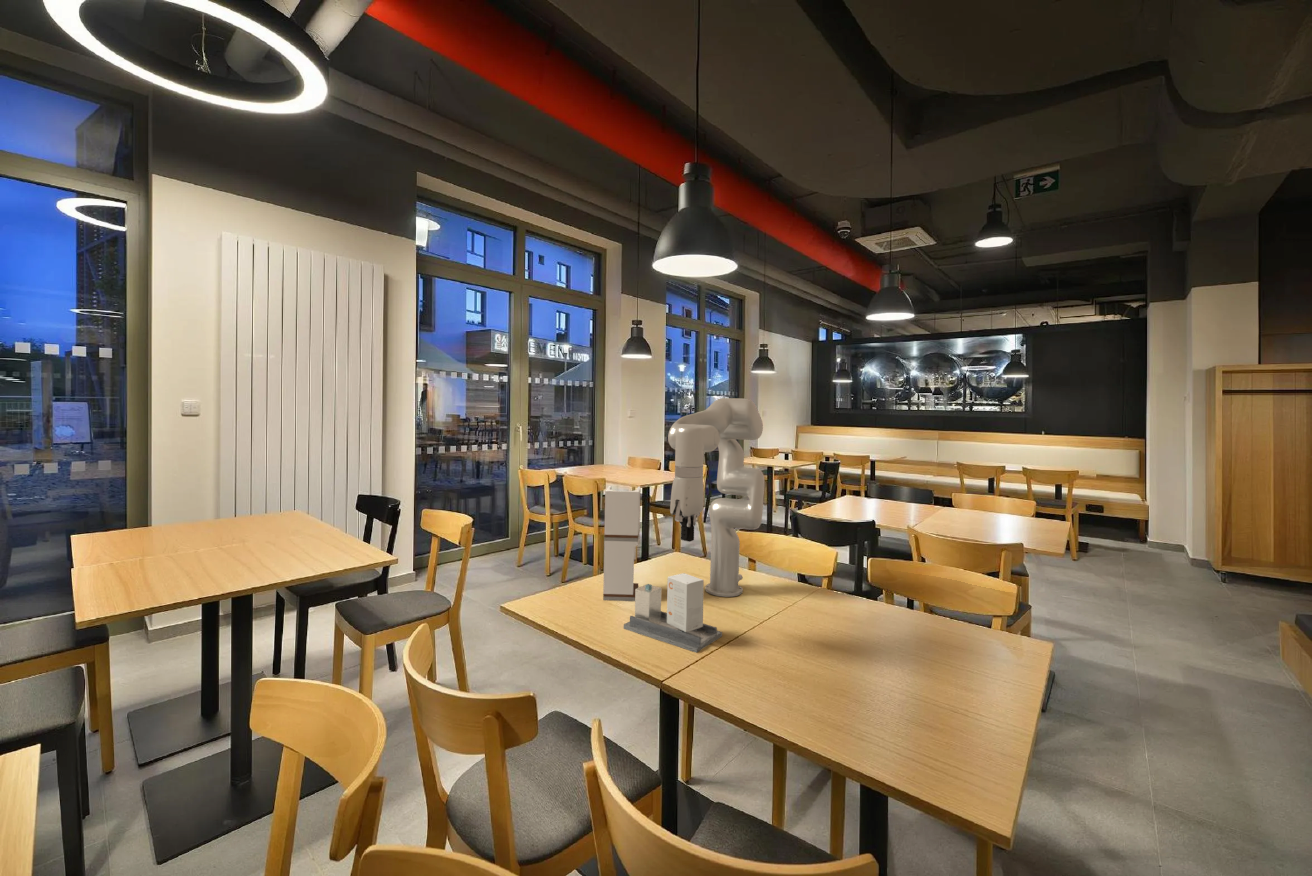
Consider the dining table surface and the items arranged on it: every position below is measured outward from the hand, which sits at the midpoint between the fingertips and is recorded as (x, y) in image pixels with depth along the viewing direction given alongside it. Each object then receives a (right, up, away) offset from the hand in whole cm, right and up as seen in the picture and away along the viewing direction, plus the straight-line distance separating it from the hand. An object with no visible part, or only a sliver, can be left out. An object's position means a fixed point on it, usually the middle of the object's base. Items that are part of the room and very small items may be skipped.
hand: (687, 540), depth 151 cm
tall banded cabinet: (-20, -24, +33) cm, 46 cm away
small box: (-1, -24, +1) cm, 24 cm away
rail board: (-4, -26, +4) cm, 27 cm away
